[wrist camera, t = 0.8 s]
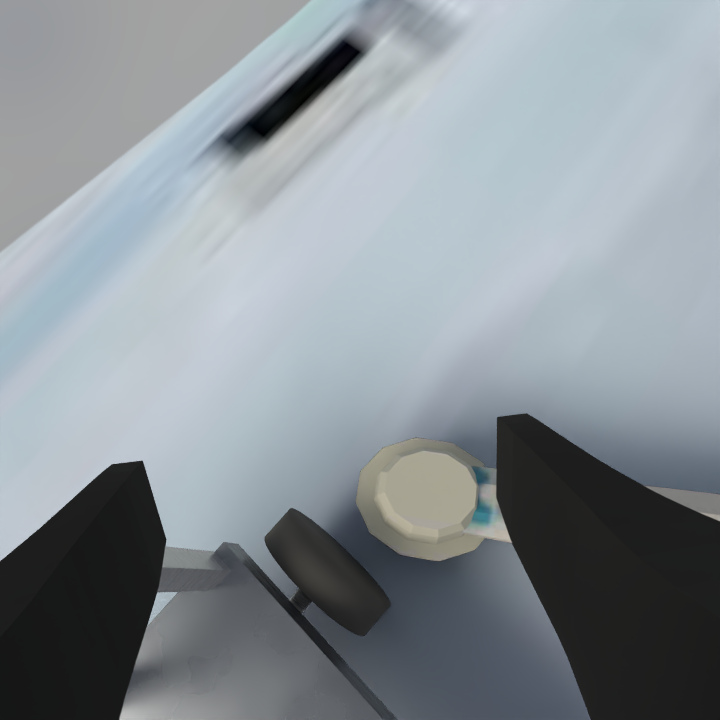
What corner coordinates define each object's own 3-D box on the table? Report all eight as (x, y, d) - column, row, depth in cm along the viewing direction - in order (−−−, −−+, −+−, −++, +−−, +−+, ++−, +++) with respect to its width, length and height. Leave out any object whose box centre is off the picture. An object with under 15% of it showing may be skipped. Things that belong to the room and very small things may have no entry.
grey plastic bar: (1080, 666, 20) (340, 542, 22) (915, 643, 26) (352, 548, 29) (1048, 506, 21) (362, 408, 24) (900, 520, 28) (369, 441, 30)
